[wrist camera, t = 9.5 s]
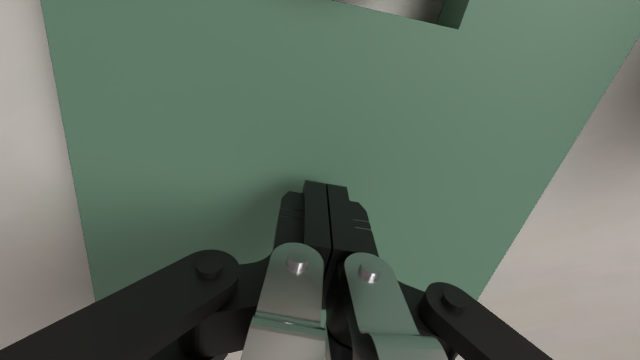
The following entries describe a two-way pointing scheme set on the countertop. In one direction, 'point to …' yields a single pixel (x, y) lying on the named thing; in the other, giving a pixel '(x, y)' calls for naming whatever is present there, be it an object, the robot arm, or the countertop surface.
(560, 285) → the countertop surface
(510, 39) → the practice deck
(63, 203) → the countertop surface
